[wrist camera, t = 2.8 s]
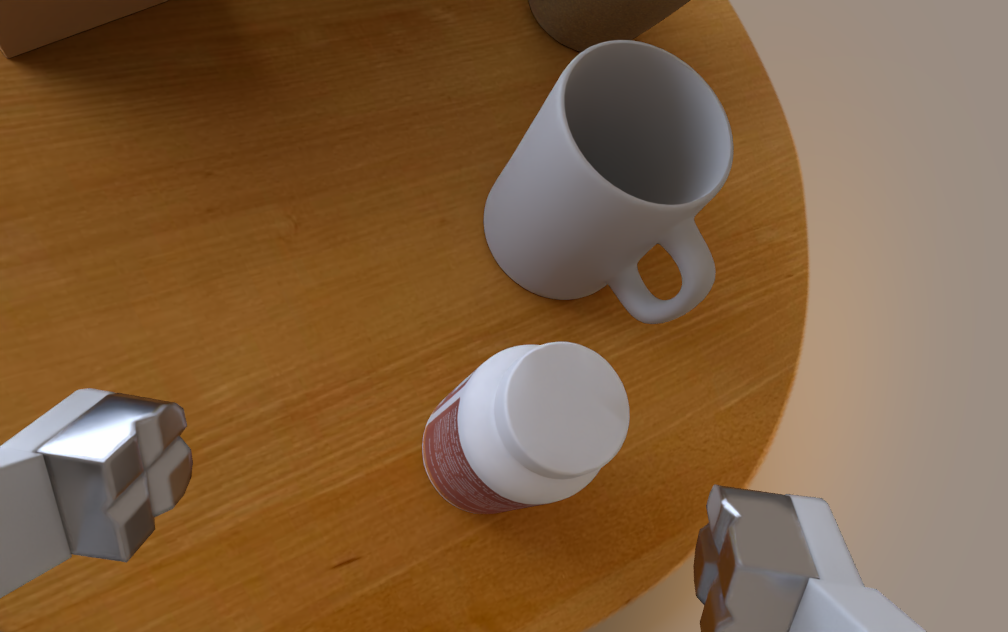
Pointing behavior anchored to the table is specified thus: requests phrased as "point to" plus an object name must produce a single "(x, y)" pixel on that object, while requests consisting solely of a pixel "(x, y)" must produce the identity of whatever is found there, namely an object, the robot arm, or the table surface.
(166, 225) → the table surface
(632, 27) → the plant pot
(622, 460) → the table surface
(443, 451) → the pill bottle
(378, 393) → the table surface
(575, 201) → the mug
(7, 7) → the box stack
